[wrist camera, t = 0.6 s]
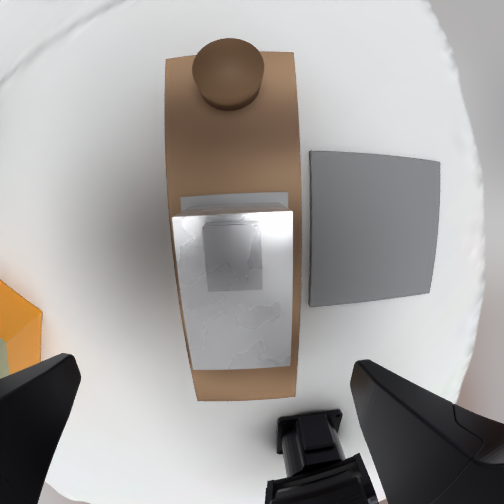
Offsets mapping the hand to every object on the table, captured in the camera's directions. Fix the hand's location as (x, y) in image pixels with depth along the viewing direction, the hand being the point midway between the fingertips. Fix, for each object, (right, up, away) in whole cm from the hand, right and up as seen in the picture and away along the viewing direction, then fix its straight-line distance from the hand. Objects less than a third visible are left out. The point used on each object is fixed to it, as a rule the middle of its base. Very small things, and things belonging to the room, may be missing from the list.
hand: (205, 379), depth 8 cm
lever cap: (+1, +3, +8) cm, 8 cm away
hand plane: (0, +5, +11) cm, 12 cm away
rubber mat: (+11, +5, +12) cm, 17 cm away
